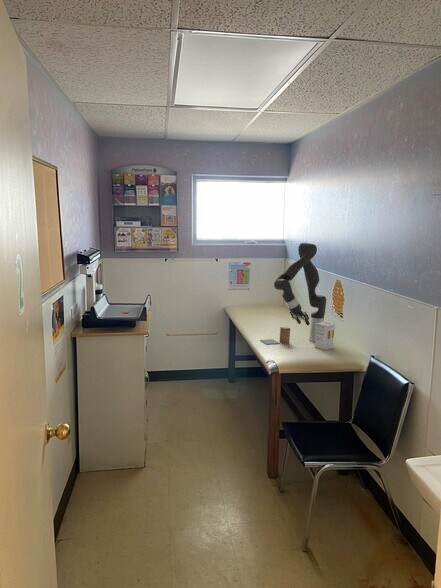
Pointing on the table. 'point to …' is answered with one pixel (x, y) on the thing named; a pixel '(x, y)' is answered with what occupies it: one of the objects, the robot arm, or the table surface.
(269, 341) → the mat
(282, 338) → the walnut block
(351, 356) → the table surface
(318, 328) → the supplement box
